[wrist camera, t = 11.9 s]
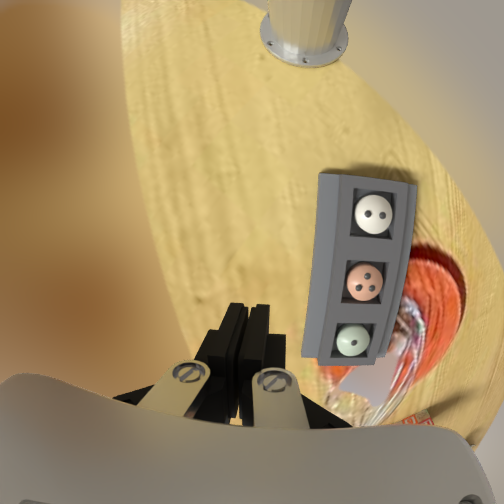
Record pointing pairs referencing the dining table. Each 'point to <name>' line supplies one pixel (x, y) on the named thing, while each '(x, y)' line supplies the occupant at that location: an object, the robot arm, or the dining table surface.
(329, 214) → the button board
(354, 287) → the button three
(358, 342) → the button one
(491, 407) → the dining table surface
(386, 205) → the button two
